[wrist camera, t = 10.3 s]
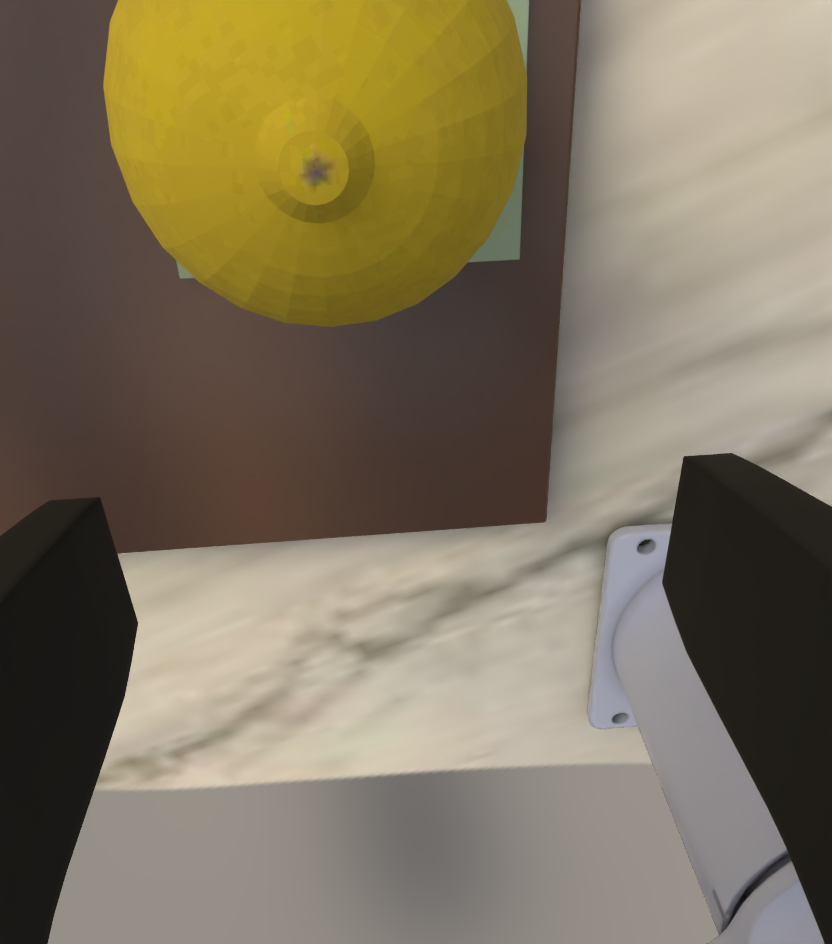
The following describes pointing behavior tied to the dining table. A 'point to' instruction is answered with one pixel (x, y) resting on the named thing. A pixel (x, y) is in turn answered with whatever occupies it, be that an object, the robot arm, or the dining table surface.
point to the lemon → (318, 144)
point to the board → (260, 338)
